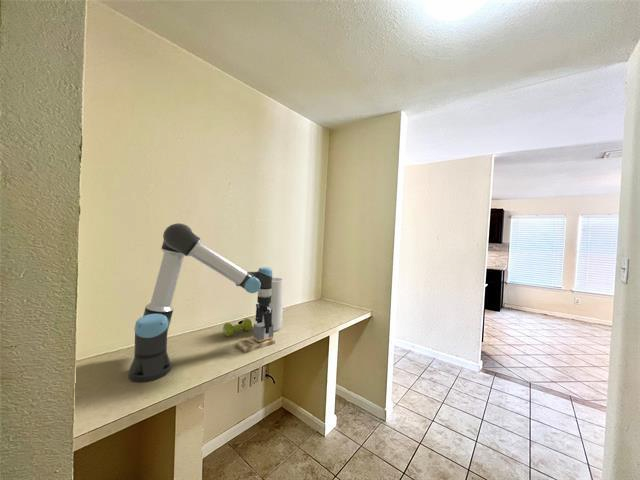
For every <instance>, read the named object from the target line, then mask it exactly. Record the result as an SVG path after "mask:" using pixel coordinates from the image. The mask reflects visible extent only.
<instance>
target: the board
mask: <svg viewBox="0 0 640 480" xmlns="http://www.w3.org/2000/svg"><path fill="white" fill-rule="evenodd" d="M275 344H276V339H275V338H274V337H273V338H272V339H268V340H265V341H261V342H258V341H256V340H255V339H253V337H249V338H246V339H243V340H239V341H236V346H237V347H238V348H239V349H240V350H241V351H243V352H244V353H248V352H251V351H255V350H257V349H262V348H265V347H268V346H271V345H275Z"/></svg>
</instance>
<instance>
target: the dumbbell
mask: <svg viewBox="0 0 640 480" xmlns="http://www.w3.org/2000/svg"><path fill="white" fill-rule="evenodd" d="M252 327H253V325H252V320H251V319H249V318H246V317H245V318H244V319H242V322H241V323H239V324H234V325H233V324H232V323H230V322H225V323H224V325H223V327H222V332H223V335H224V336H225V337H228V338H229V337H231V336H232V335H233V333H234V331H238V330H243V331H244V332H251V329H252Z"/></svg>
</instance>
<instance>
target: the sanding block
mask: <svg viewBox="0 0 640 480" xmlns="http://www.w3.org/2000/svg"><path fill="white" fill-rule="evenodd" d="M264 327H265V324H264V322H261V323H257V322H256V323H254V324H253V336H252V338H253V339H255V340H256V341H258V342H261V341H265V340H268V339H272V338H273V339H274V331H273V327H274V324H273V323H272V327H269V337H268V339H265V340H264V339H263V337H264Z"/></svg>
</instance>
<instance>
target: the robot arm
mask: <svg viewBox="0 0 640 480" xmlns="http://www.w3.org/2000/svg"><path fill="white" fill-rule="evenodd" d="M162 237H163V241H162V245H161V251H162V253H163V256H162V259H161V262H160V266H159V271H158V275H157V277H156V282H155V285H154V289H153V292H152V296H151V300H150V302H149V303H148V304H146V305H145V307H144V312H143V316H141V317H139V318H138V319H137V320H136V321H135V326H134V356H133V359H132V362H131V364H130V367H129V370H128V379H129V380H130V381H133V382H137V383H145V382H150V381H154V380H157V379H159V378H162V377H164V376H166V375H167V374H169V372H170V371H171V369H172V362H171V359H170V357H169V353H168V351H167V350H168V349H167V348H168V333H169V329H170V324H171V322H172V316H173V313H174V310H175V309H174V307H173V305H172V303H173V299H174V296H175V293H176V292H175V291H176V288H177V284H178V279H179V278H180V277H179V276H180V273H181V269H182V265H183V262H184V258H185V257H192V258H193V259H195V260H197V261H199V262H200V263H201V264H203V265H205V266H206V267H208V268H209V269H212V270H214V272H217V273H218V274H219V275H221V276H223V277H225V278H226V279H228V280H230V281H231V282H232V283H234V284H235V286H236V287H240V288H242V289H244V290H245V291H246V292H248V293H249V294H257V297H256V298H257V300H256V301H257V303H256V304H255V320H254V321H255V322H256V324H257V323H261V322H263V321H262V319H263V315H264V324H265V327H264V337H263V339H264V340H265V339H268V337H269V327H272V309H270V308H269V304H270V303H271V290H272V277H273V269H272V268H270V267H266V266H264V267H259V268H258V271H248V270H245V269H244V268H242V267H240V265H238V264H236V263H235V262H233V261H232V260H230V259H228V258H227V257H226V256H223V254H221V253H220V252H218V251H216V250H215V249H213V248H212V247H210V246H209V245H207V244H205V243H204V242H203V241H202V238H200V237H199V236H198V235H196V234H195V233H194V232H193V230H192V228H191V227H190V226H188V225H187V224H185V223H178V222H177V223H173V224H171V225H169V226H168V227H167V226H166V228H165V229H164V231H163V234H162Z"/></svg>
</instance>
